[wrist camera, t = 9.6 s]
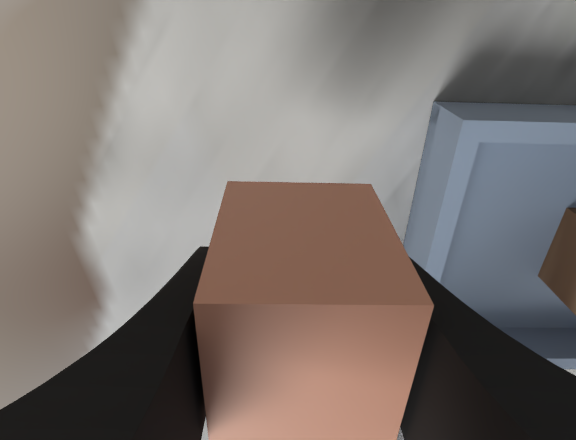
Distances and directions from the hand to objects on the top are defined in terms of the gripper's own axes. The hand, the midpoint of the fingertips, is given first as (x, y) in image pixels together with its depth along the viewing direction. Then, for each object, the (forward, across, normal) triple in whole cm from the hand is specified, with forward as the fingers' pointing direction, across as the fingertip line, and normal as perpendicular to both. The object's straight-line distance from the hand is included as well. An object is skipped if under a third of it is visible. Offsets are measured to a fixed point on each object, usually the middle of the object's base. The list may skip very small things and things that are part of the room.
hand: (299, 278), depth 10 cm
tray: (+8, -12, +4) cm, 15 cm away
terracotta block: (+2, 0, 0) cm, 2 cm away
